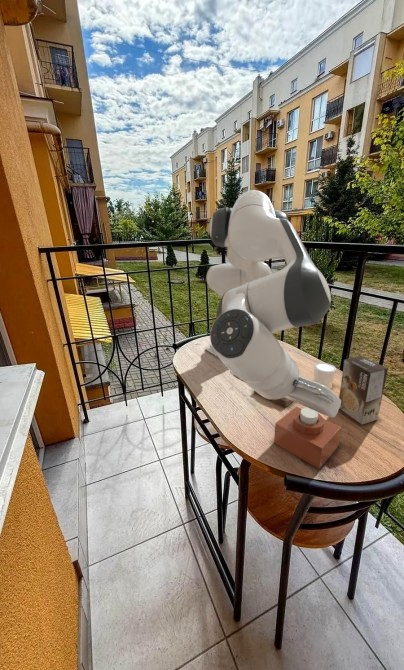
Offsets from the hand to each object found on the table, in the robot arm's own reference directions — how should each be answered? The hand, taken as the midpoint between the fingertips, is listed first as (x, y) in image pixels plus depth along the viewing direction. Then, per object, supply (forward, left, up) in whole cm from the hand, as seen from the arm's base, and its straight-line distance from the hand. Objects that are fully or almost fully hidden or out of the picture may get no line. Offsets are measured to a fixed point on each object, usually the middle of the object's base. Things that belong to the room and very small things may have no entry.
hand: (296, 397), depth 60 cm
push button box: (0, +7, -17) cm, 19 cm away
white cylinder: (-10, +37, -18) cm, 42 cm away
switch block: (-18, +22, -17) cm, 33 cm away
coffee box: (+4, +29, -18) cm, 34 cm away
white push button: (0, +7, -10) cm, 12 cm away
